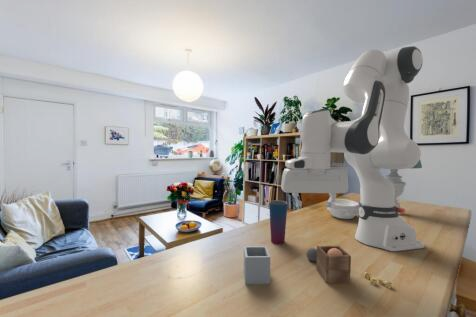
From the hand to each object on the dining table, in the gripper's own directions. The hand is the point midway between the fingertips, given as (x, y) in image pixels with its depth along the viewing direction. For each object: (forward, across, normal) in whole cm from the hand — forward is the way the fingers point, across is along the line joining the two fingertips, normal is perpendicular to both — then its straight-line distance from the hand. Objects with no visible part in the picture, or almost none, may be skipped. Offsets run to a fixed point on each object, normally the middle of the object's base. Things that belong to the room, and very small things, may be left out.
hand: (313, 207), depth 69 cm
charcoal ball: (+17, 0, 0) cm, 17 cm away
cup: (+17, +8, -15) cm, 24 cm away
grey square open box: (+17, +19, +9) cm, 27 cm away
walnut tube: (+17, -2, +9) cm, 19 cm away
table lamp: (+16, -65, -53) cm, 86 cm away
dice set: (+18, -13, +12) cm, 25 cm away
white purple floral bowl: (+17, -33, -46) cm, 59 cm away
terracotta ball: (+12, -2, +8) cm, 15 cm away
